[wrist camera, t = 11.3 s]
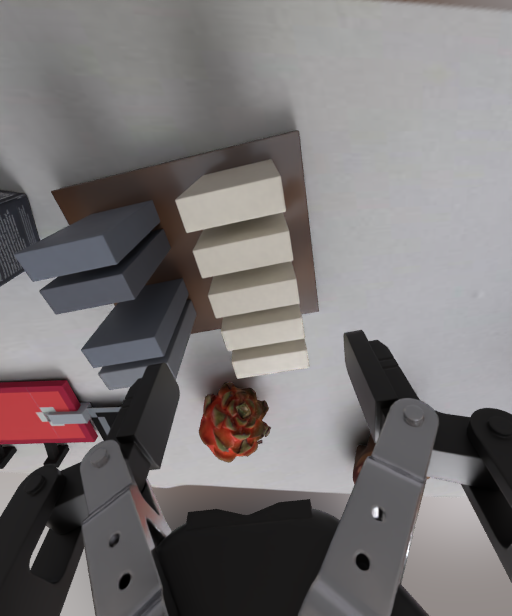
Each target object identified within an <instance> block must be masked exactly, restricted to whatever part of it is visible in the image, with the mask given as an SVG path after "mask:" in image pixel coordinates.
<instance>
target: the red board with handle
mask: <svg viewBox="0 0 512 616" xmlns="http://www.w3.org/2000/svg"><path fill="white" fill-rule="evenodd" d="M120 409H121V407H106V408H92V406H91V404H90V402H87V403H79V401H78V399H77V398H76V396H75V394H74V392H73V390H72V389H71V387H70V385H69V383H68V381H67V380H56V381H27V382H0V469H3V468H4V467H5V466H6V464H7V463H8V462H9V460H10V459H11V458H12V456H13V455H14V454H15V453H16V451H17V450H16V449H15V448H14V447H2V445H1V444H32V443H44V445H45V448H46V451H47V455H48V458H47V459H46V461H45V462H44V466H46V465H53V466H55V467H59V466H60V464H61V462H62V461H63V459H64V457H65V456H66V454H67V453H68V451H69V448H68V446H57V444H56V443H71V442H95V440H96V439H97V437H98V435H97V433H96V432H95V430H94V428H93V426H92V424H91V423H90V421H89V420H90V418H92V420H93V422H94V424H95V426H96V427H97V429H98V431H99V433H100V435H101V437H102V438H103V440H104V441H105V439H106V437H107V435H108V433H109V431H110V429H111V427H112V425H113V423H114V420H115V418H116V416H117V414H118V412H119V410H120Z"/></svg>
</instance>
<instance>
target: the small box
mask: <svg viewBox="0 0 512 616" xmlns="http://www.w3.org/2000/svg"><path fill="white" fill-rule="evenodd" d="M38 241H40V240H39V236H38V233H37V229H36V226H35V222H34V219H33V215H32V212H31V208H30V205H29V201H28V198H27V196H26V195H25V194H23V193H15V192H9V191H1V190H0V286H2V285H4V284H5V283H7V282H8V281H10V280H11V279H13V278H14V277H16V276H18V275H19V274H21V273H22V272H24V271H25V270H24V269H23V267H22V266H21V264H20V263H19V262H18V260H17V259H16V257H15V256H14V254H15V253H17V252H19V251H21V250H23V249H25V248H27V247H29V246H31V245H33V244H35V243H37V242H38Z"/></svg>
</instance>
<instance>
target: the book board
mask: <svg viewBox="0 0 512 616" xmlns="http://www.w3.org/2000/svg"><path fill="white" fill-rule="evenodd" d="M269 159H272V161H273V163H274V165H275V167H276V168H277V170H278V172H279V174H280V176H281V181H282V187H283V194H284V201H285V207H286V211H285V212H283V214H284V217H285V220H286V223H287V226H288V229H289V234H290V240H291V247H292V253H293V261H292V265H293V269H294V272H295V276H296V280H297V287H298V294H299V300H300V303H299V307H300V311H301V314H307V313H313V312H318V311H319V307H318V298H317V289H316V280H315V271H314V262H313V253H312V244H311V235H310V227H309V218H308V209H307V200H306V191H305V182H304V173H303V164H302V155H301V146H300V137H299V131H298V130H295V131H291V132H287V133H283V134H279V135H275V136H271V137H267V138H263V139H259V140H255V141H251V142H246V143H242V144H238V145H234V146H230V147H226V148H222V149H218V150H214V151H210V152H206V153H202V154H198V155H194V156H190V157H186V158H181V159H177V160H173V161H169V162H165V163H161V164H157V165H153V166H149V167H145V168H141V169H137V170H133V171H129V172H125V173H121V174H117V175H112V176H108V177H104V178H100V179H96V180H92V181H88V182H84V183H80V184H76V185H72V186H68V187H64V188H60V189H57V190H53V191H51V193H52V195H53V196H54V198H55V200H56V202H57V203H58V205H59V207H60V209H61V211H62V212H63V214H64V216H65V218H66V219H67V221H68V223H69V225H71V224H73V223H75V222H77V221H79V220H81V219H83V218H85V217H87V216H89V215H91V214H94V213H99V212H103V211H107V210H111V209H116V208H120V207H124V206H129V205H133V204H137V203H142V202H146V201H150V200H152V201H153V203H154V206H155V208H156V211H157V213H158V216H159V218H160V223H159V224H158V225H157V226H156V227H154V228H153V229H152V230H151V231H156V230H160V229H164V231H165V234H166V236H167V239H168V241H169V244H170V247H171V249H170V250H169V252H168V253H167V255H166V256H165V257H164V259H163V260H162V262H161V263H160V264H159V266H158V267H157V269H156V270H155V272H154V273H153V274H152V276H151V277H150V279H149V280H148V281H147V283H146V284H145V286H146V285H151V284H156V283H161V282H166V281H171V280H176V279H181V278H183V280H184V283H185V285H186V288H187V290H188V293H189V295H188V298H187V300H191V301H192V303H193V306H194V309H195V311H196V314H197V315H196V318H195V321H194V324H193V327H192V330H191V333H190V334H193V333H198V332H204V331H210V330H215V329H221V328H222V322H223V317H221V318H216V317H215V314H214V311H213V309H212V306H211V303H210V300H209V297H208V293H209V290H210V286H211V283H212V279H213V276H212V277H207V278H202V277H201V274H200V271H199V268H198V265H197V262H196V259H195V256H194V254H193V249H194V247H195V245H196V243H197V241H198V239H199V238H200V236H201V234H202V232H203V230H204V229H203V230H199V231H194V232H189V233H187V232H186V230H185V227H184V225H183V222H182V219H181V216H180V213H179V210H178V207H177V204H176V202H175V199H177V198H178V197H179V196H180V195H181V194H182V193H183V192H185V191H186V190H187V189H188V188H189V187H190V186H191V185H192V184H194V183H195V182H196V181H197V180H198V179H199V178H200V177H202V176H203V175H206V174H210V173H215V172H219V171H223V170H227V169H231V168H236V167H240V166H244V165H248V164H253V163H257V162H261V161H265V160H269ZM151 231H150V232H151ZM187 300H186V301H187ZM114 305H115V306H116V305H117V303H114Z"/></svg>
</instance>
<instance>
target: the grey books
mask: <svg viewBox="0 0 512 616" xmlns="http://www.w3.org/2000/svg"><path fill="white" fill-rule="evenodd" d="M159 223H160V218H159V216H158V213H157V211H156V208H155V206H154V203H153V201H152V200H150V201H146V202H142V203H137V204H133V205H129V206H124V207H120V208H116V209H111V210H107V211H103V212H99V213H94V214H91V215H89V216H87V217H85V218H83V219H81V220H79V221H77V222H75V223H73V224H71V225H69V226H67V227H65V228H64V229H62V230H60V231H58V232H56V233H54V234H52V235H50V236H48V237H46V238H44V239H42V240H40V241H38V242H37V243H35V244H33V245H31V246H29V247H27V248H25V249H23V250H21V251H19V252H17V253H15V254H14V256H15V257H16V259H17V260H18V262H19V263H20V264H21V266H22V267H23V269H24V270H25V272H26V273H27V274H28V276H29V277H30V279H31V280H32V281H33V282H34V281H39V280H44V279H49V278H53V277H57V278H56V279H54V280H53V281H52V282H50V283H49V284H48V285H46V286H45V287H44V288H42V289H41V290H40V291H39V292H40V293H41V294H42V296H43V297H44V299H45V300H46V301H47V303H48V304H49V306H50V307H51V309H52V310H53V311H54V313H55V314H61V313H66V312H71V311H77V310H82V309H87V308H92V307H97V306H102V305H108V304H113V303H117V305H116V306H115V307H114V309H113V310H112V311H111V312H110V314H109V315H108V316H107V317H106V319H105V320H104V321H103V322H102V324H101V325H100V326H99V327H98V329H97V330H96V331H95V333H94V334H93V335H92V336H91V338H90V339H89V340H88V341H87V343H86V344H85V345H84V346H83V348H82V349H81V351H82V352H83V354H84V355H85V357H86V358H87V359H88V361H89V362H90V364H91V365H92V367H93V368H97V367H102V369H101V370H100V372H99V373H98V375H99V376H100V378H101V379H102V380H103V382H104V383H105V385H106V386H107V388H108V389H109V390H113V389H119V388H126V387H131V386H132V385H133V384H134V383H135V382H136V380H137V379H138V378H142V376H143V374H144V372H145V369H146V367H147V366H148V365H153V364H159V363H166V364H167V365H168V367H169V369H170V371H171V373H172V374H173V376H174V378H175V380H176V378H177V374H178V371H179V368H180V365H181V362H182V359H183V356H184V352H185V349H186V346H187V343H188V340H189V337H190V333H191V330H192V327H193V324H194V321H195V318H196V315H197V314H196V311H195V309H194V306H193V303H192V301H191V300H187V298H188V295H189V293H188V290H187V288H186V285H185V283H184V280H183V278H181V279H176V280H171V281H166V282H161V283H156V284H151V285H146V286H145V284H146V283H147V281H148V280H149V279H150V277H151V276H152V274H153V273H154V272H155V270H156V269H157V267H158V266H159V264H160V263H161V262H162V260H163V259H164V257H165V256H166V255H167V253H168V252H169V250H170V249H171V247H170V244H169V241H168V239H167V236H166V234H165V231H164V229H160V230H156V231H151V230H152V229H153V228H154V227H156V226H157V225H158V224H159ZM150 231H151V232H150ZM186 300H187V301H186Z"/></svg>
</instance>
